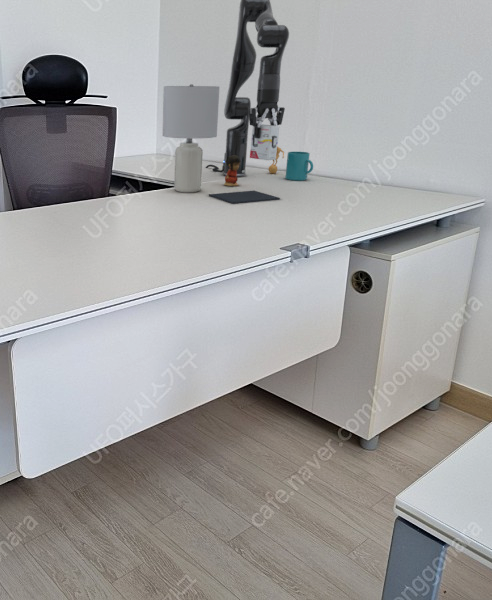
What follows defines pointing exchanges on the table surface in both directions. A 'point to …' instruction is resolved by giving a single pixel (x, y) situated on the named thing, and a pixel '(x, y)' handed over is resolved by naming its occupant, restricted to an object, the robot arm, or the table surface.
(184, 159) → the lamp
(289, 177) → the cup
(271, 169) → the figurine
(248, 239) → the table surface
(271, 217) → the table surface
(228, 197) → the mat
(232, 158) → the figurine
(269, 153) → the ink box
